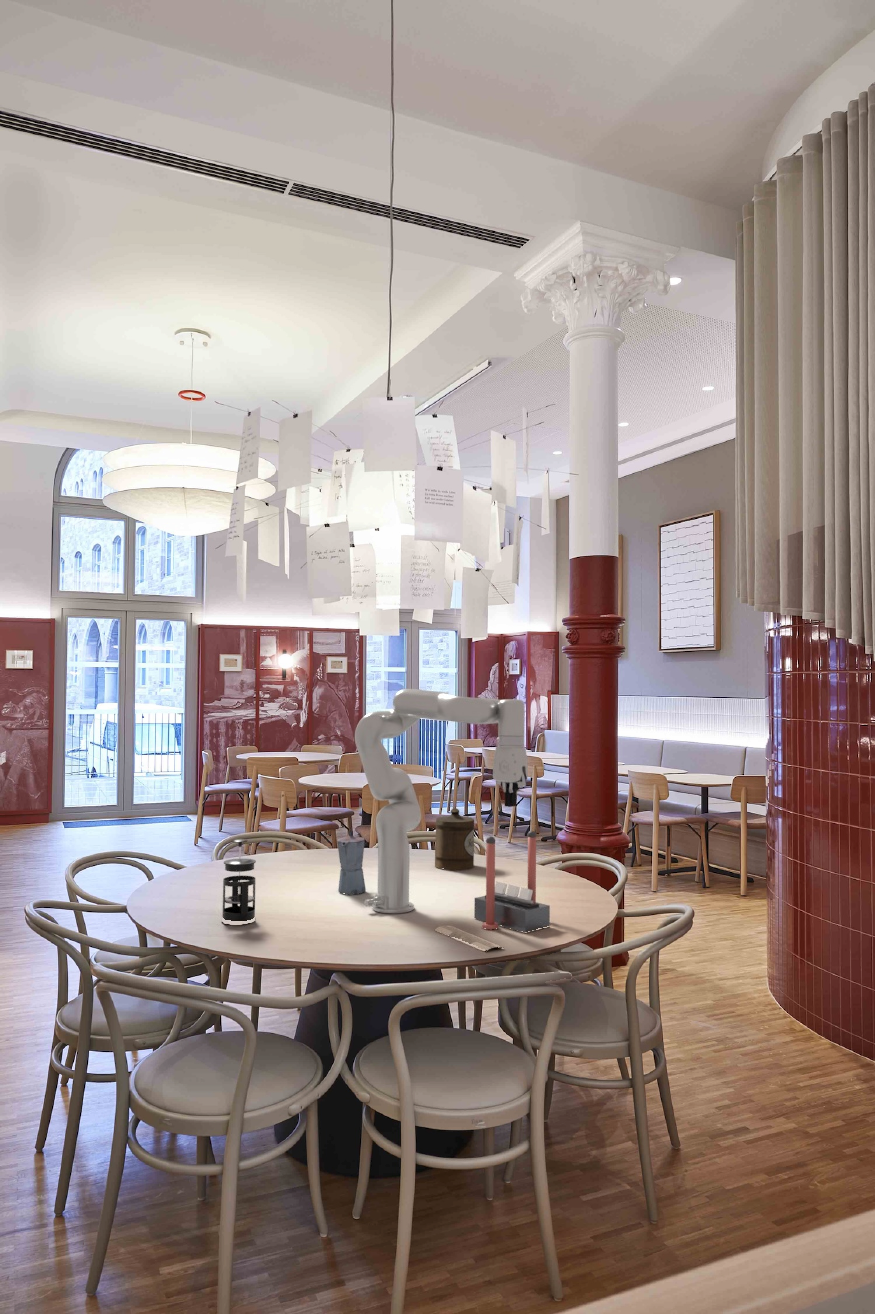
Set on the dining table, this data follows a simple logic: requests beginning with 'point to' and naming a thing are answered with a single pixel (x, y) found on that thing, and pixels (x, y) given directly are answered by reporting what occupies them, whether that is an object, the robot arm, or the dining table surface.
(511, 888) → the breaker paddles
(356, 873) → the moka pot
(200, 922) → the dining table surface
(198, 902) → the dining table surface
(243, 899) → the french press
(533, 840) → the far post
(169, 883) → the dining table surface
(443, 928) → the beige flat board
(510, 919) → the box
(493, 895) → the near post
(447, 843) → the wooden container
